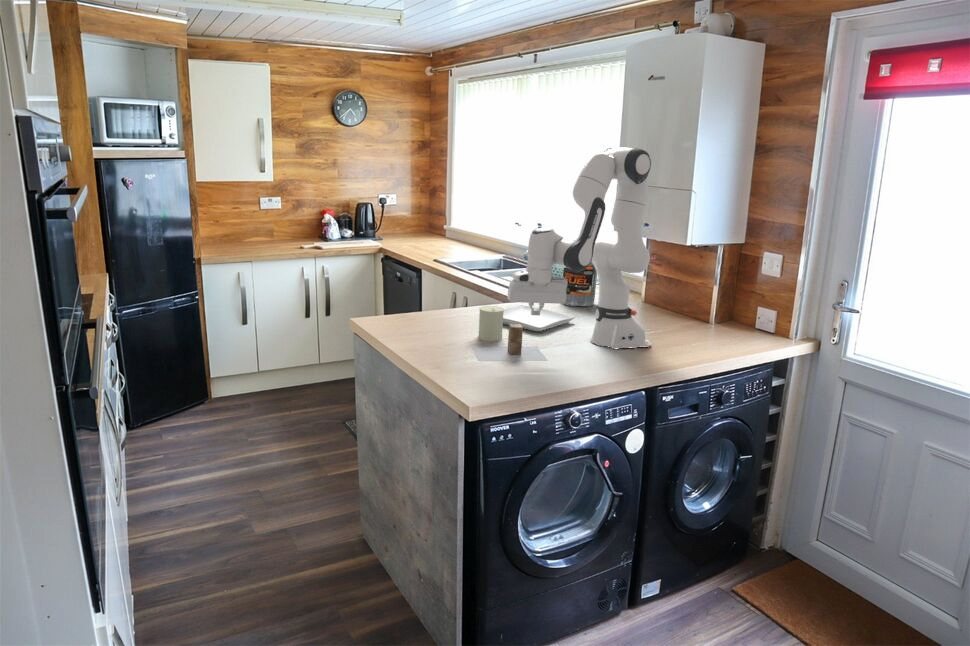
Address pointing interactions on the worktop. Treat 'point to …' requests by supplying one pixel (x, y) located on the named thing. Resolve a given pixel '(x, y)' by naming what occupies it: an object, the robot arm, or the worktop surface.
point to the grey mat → (503, 354)
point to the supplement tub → (580, 286)
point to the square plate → (534, 318)
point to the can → (490, 323)
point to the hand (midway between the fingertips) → (535, 315)
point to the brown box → (515, 339)
